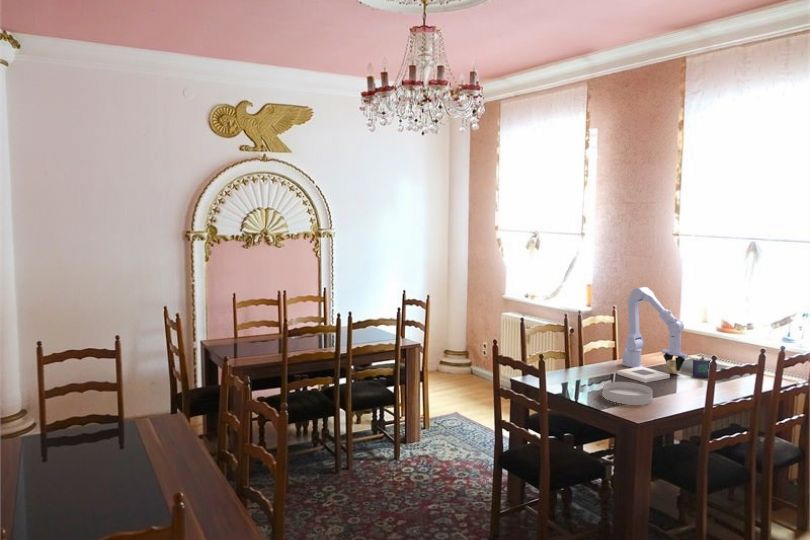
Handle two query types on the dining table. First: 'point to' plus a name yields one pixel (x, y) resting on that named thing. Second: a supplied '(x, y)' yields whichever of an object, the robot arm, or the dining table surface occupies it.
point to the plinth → (643, 374)
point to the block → (672, 366)
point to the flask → (701, 367)
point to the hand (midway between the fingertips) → (673, 369)
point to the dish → (627, 393)
